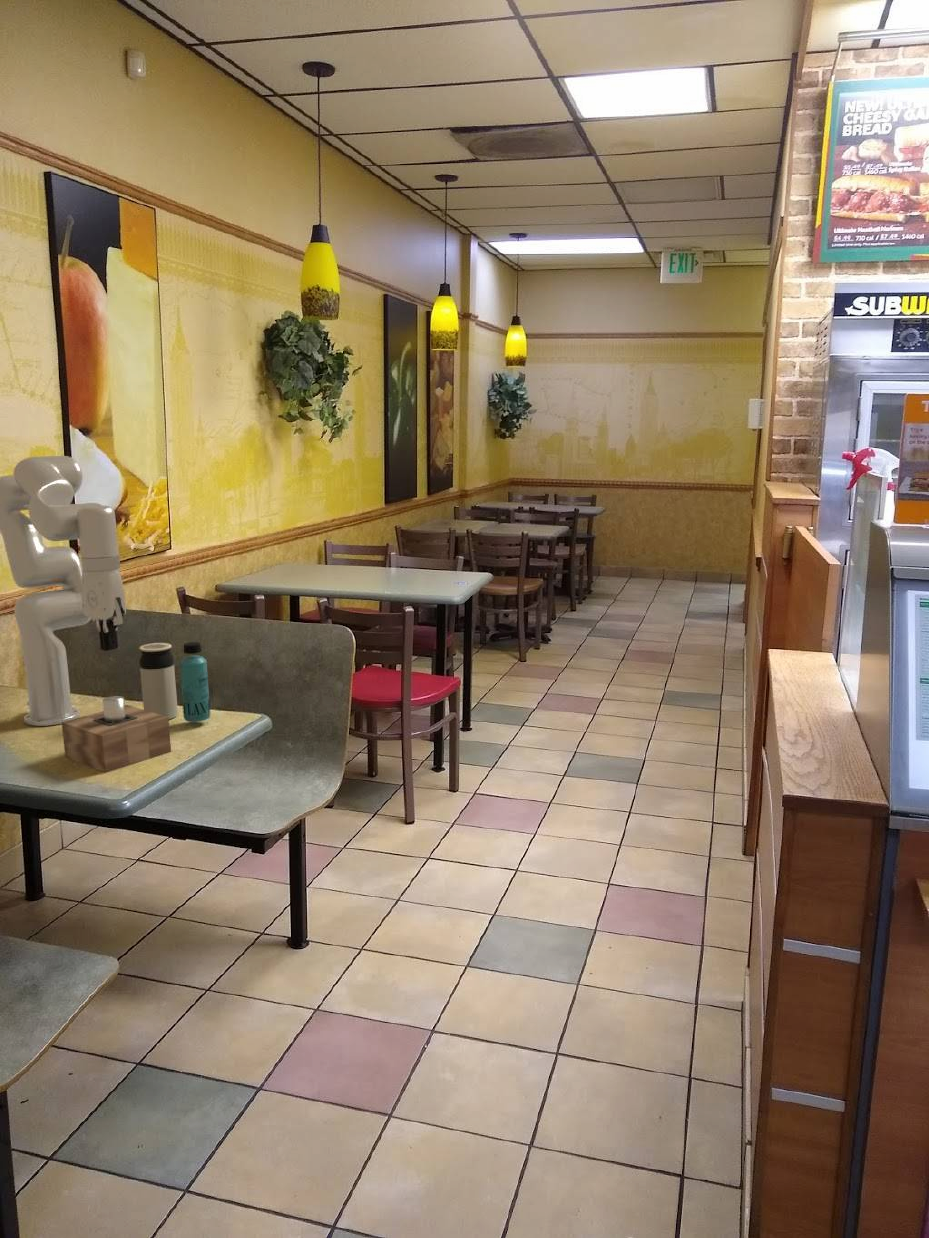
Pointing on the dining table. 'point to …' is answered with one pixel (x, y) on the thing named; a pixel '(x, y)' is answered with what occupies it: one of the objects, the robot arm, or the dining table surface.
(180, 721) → the dining table surface
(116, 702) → the steel dowel
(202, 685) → the beverage bottle
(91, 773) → the dining table surface
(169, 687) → the travel mug
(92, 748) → the block
